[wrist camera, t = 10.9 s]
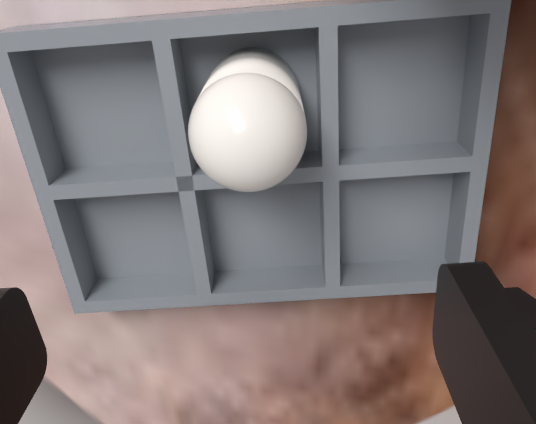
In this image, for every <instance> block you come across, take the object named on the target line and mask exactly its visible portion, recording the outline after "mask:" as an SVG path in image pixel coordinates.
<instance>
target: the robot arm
mask: <svg viewBox="0 0 536 424" xmlns="http://www.w3.org/2000/svg"><path fill="white" fill-rule="evenodd" d="M433 344H434V350H435V355H436V359H437V362H438V364H439V367H440V369H441V372H442V374H443V377H444V380H445V382H446V385H447V387H448V390H449V392H450V395H451V397H452V400H453V402H454V405H455V407H456V410H457V412H458V414H459V417H460V420H461V422H462V424H536V299H535V298H533V297H532V296H530V295H529V294H527V293H526V292H524V291H523V290H521V289H520V288H518V287H513V288H504V287H503V286H502V284H501V283H500V281H499V280H498V278H497V277H496V276H495V274H494V273H493V271H492V270H491V268H490V267H489V266H488V264H487V263H485V262H465V263H448V264H441V265H440V267H439V270H438V277H437V287H436V298H435V308H434V319H433ZM46 366H47V352H46V347H45V344H44V342H43V339H42V336H41V334H40V331H39V329H38V326H37V323H36V321H35V318H34V316H33V313H32V310H31V308H30V305H29V303H28V300H27V298H26V295H25V294H24V292H23V291H22V290H21V289H19V288H0V424H18V423H19V421H20V419H21V417H22V415H23V414H24V412H25V410H26V408H27V406H28V405H29V403H30V401H31V399H32V398H33V396H34V394H35V392H36V390H37V389H38V387H39V385H40V383H41V381H42V379H43V377H44V374H45V371H46Z"/></svg>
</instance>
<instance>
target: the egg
mask: <svg viewBox="0 0 536 424" xmlns="http://www.w3.org/2000/svg"><path fill="white" fill-rule="evenodd" d="M188 137H189V144H190V148H191V151H192V154H193V157H194V159H195V160H196V162H197V164H198V165H199V167H200V168H201V170H202V171H203V172H204V173H205V174H206V175H207V176H208V177H209V178H210V179H211V180H213V181H214V182H216V183H217V184H219V185H221V186H223V187H225V188H228V189H231V190H235V191H240V192H256V191H261V190H265V189H268V188H271V187H273V186H275V185H277V184H279V183H280V182H282V181H283V180H284V179H286V178H287V177H288V176H289V175H290V174H291V173H292V172H293V170H294V169H295V168H296V167H297V165H298V163H299V162H300V160H301V157H302V155H303V153H304V150H305V147H306V141H307V124H306V118H305V113H304V109H303V104H302V99H301V95H300V90H299V85H298V81H297V78H296V76H295V73H294V72H293V70H292V68H291V67H290V65H289V64H288V63H287V62H286V61H285V60H284V59H283V58H282V57H280V56H279V55H278V54H276V53H274V52H272V51H270V50H267V49H264V48H258V47H246V48H241V49H238V50H235V51H233V52H231V53H229V54H228V55H226V56H225V57H224V58H222V59H221V60H220V61H219V62H218V63H217V65H216V66H215V68H214V69H213V71H212V73H211V75H210V76H209V78H208V80H207V82H206V84H205V86H204V87H203V89H202V91H201V93H200V95H199V97H198V99H197V100H196V102H195V104H194V106H193V109H192V112H191V115H190V119H189V124H188Z"/></svg>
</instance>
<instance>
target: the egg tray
mask: <svg viewBox="0 0 536 424" xmlns="http://www.w3.org/2000/svg"><path fill="white" fill-rule="evenodd" d="M510 7H511V0H330V1H318V2H306V3H294V4H282V5H269V6H257V7H245V8H233V9H221V10H209V11H197V12H185V13H173V14H161V15H149V16H137V17H125V18H113V19H100V20H88V21H76V22H64V23H52V24H40V25H28V26H16V27H10V28H7V29H3V30H0V88H1V91H2V94H3V97H4V100H5V103H6V106H7V109H8V112H9V115H10V118H11V121H12V124H13V127H14V130H15V134H16V137H17V140H18V143H19V146H20V149H21V152H22V155H23V158H24V161H25V164H26V167H27V170H28V173H29V176H30V179H31V182H32V185H33V188H34V191H35V194H36V197H37V200H38V204H39V207H40V210H41V213H42V216H43V219H44V222H45V225H46V228H47V231H48V234H49V237H50V240H51V243H52V246H53V249H54V252H55V255H56V258H57V261H58V264H59V267H60V270H61V274H62V277H63V280H64V283H65V286H66V289H67V292H68V295H69V298H70V301H71V304H72V307H73V310H74V313H75V314H76V313H93V312H110V311H127V310H144V309H161V308H178V307H195V306H213V305H230V304H247V303H264V302H281V301H298V300H315V299H333V298H350V297H367V296H384V295H401V294H418V293H435V292H436V287H437V277H438V270H439V267H440V265H441V264H448V263H465V262H474V261H475V254H476V247H477V240H478V233H479V226H480V219H481V212H482V205H483V197H484V190H485V183H486V176H487V169H488V162H489V155H490V148H491V141H492V134H493V127H494V120H495V113H496V106H497V99H498V91H499V84H500V77H501V70H502V63H503V56H504V49H505V42H506V35H507V28H508V21H509V14H510ZM246 47H258V48H264V49H267V50H270V51H272V52H274V53H276V54H278V55H279V56H280V57H282V58H283V59H284V60H285V61H286V62H287V63H288V64H289V65H290V67H291V68H292V70H293V72H294V73H295V76H296V78H297V81H298V85H299V90H300V95H301V99H302V104H303V109H304V113H305V118H306V124H307V141H306V147H305V150H304V153H303V155H302V157H301V160H300V162H299V163H298V165H297V167H296V168H295V169H294V170H293V172H292V173H291V174H290V175H289V176H288V177H287V178H286V179H284V180H283V181H282V182H280V183H279V184H277V185H275V186H273V187H271V188H268V189H265V190H261V191H256V192H240V191H235V190H231V189H228V188H225V187H223V186H221V185H219V184H217V183H216V182H214V181H213V180H211V179H210V178H209V177H208V176H207V175H206V174H205V173H204V172H203V171H202V170H201V168H200V167H199V165H198V164H197V162H196V160H195V159H194V157H193V154H192V151H191V148H190V144H189V137H188V124H189V119H190V115H191V112H192V109H193V106H194V104H195V102H196V100H197V99H198V97H199V95H200V93H201V91H202V89H203V87H204V86H205V84H206V82H207V80H208V78H209V76H210V75H211V73H212V71H213V69H214V68H215V66H216V65H217V63H218V62H219V61H220V60H221V59H222V58H224V57H225V56H226V55H228V54H229V53H231V52H233V51H235V50H238V49H241V48H246Z"/></svg>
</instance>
